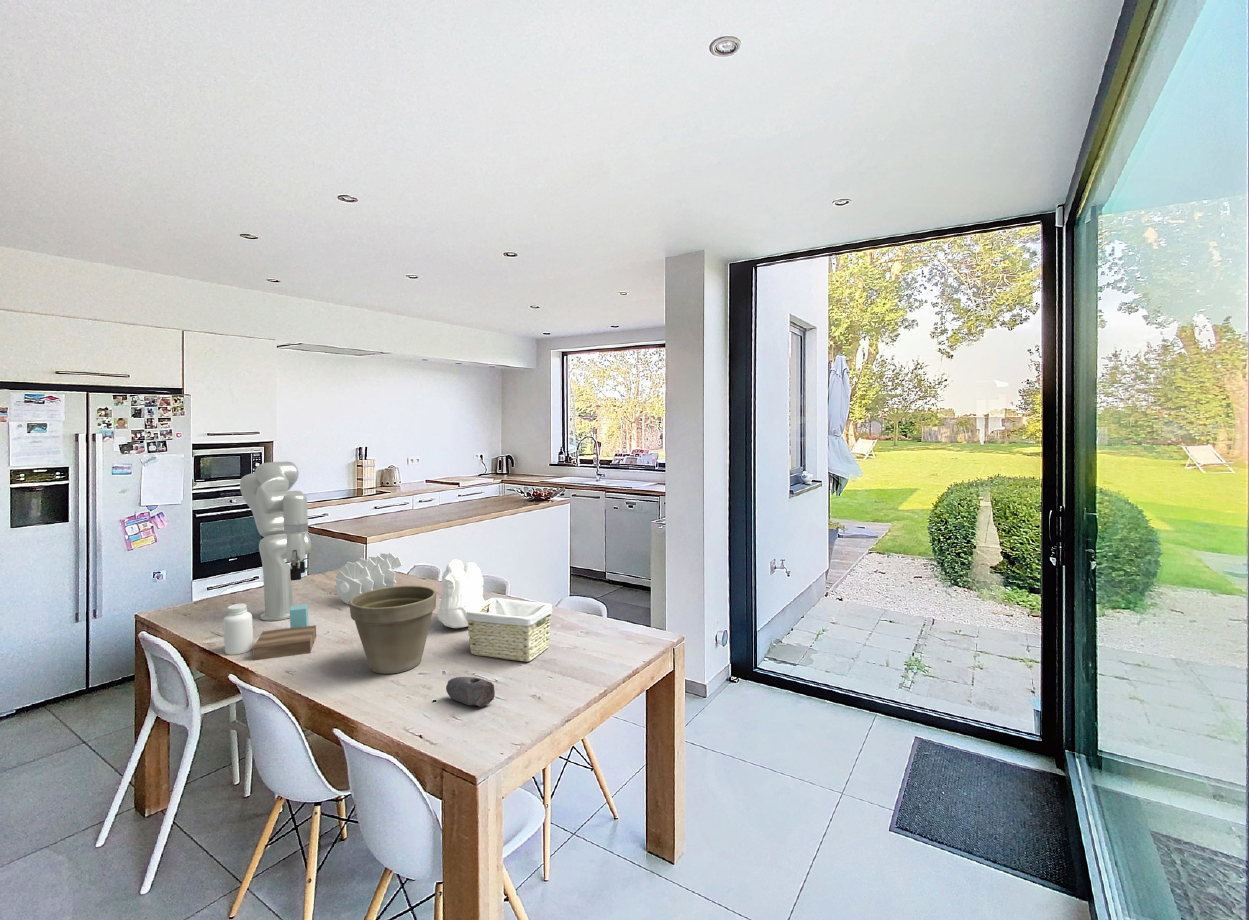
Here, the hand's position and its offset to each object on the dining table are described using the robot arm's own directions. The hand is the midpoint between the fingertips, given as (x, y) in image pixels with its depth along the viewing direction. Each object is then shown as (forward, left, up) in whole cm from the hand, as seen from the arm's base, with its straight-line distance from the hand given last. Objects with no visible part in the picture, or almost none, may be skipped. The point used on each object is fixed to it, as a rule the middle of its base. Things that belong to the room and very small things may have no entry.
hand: (298, 576), depth 212 cm
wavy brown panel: (+15, -2, -20) cm, 25 cm away
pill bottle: (+12, -16, -20) cm, 29 cm away
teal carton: (0, 0, -20) cm, 20 cm away
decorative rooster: (+12, +57, -20) cm, 62 cm away
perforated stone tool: (+77, +50, -20) cm, 94 cm away
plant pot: (+43, +32, -20) cm, 57 cm away
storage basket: (+45, +67, -21) cm, 83 cm away
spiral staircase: (-35, +21, -20) cm, 46 cm away
